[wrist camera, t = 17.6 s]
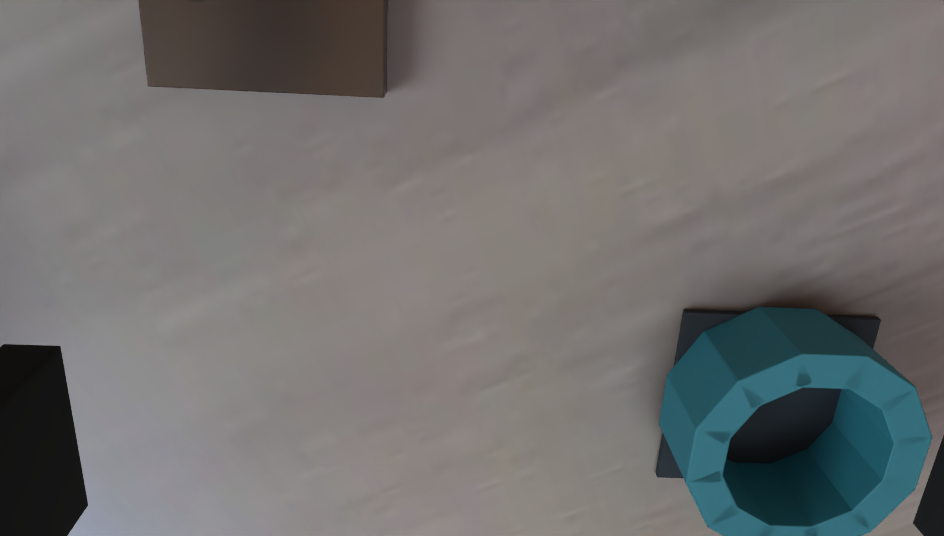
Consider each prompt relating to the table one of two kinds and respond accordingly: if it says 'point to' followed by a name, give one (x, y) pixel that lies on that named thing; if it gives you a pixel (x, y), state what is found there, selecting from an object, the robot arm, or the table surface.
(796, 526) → the tape roll
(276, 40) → the tape post
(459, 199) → the table surface
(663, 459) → the mat
